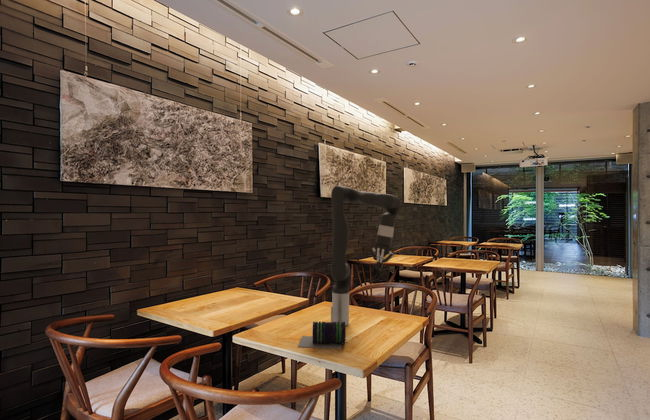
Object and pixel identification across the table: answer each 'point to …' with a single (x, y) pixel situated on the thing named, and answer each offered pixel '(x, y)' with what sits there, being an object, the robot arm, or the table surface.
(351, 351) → the table surface
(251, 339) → the table surface
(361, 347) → the table surface
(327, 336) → the dark ribbed cylinder
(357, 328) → the table surface
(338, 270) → the robot arm
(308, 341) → the mat
